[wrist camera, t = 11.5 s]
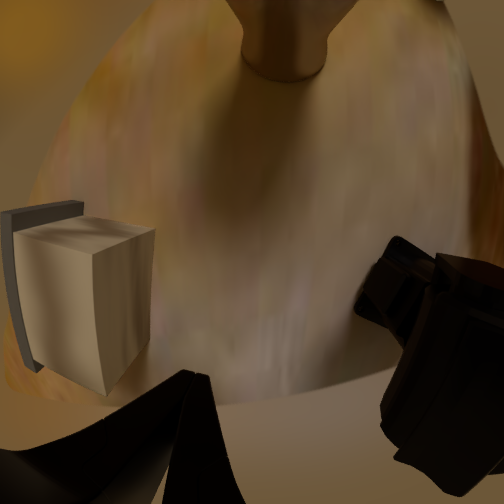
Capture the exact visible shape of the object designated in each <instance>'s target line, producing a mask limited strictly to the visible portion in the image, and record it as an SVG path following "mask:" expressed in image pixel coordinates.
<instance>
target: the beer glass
mask: <svg viewBox="0 0 504 504" xmlns="http://www.w3.org/2000/svg"><path fill="white" fill-rule="evenodd" d="M357 1H358V0H226V2H227V3H228V5H229V6H230V8H231V9H232V11H233V12H234V14H235V15H236V17H237V19H238V20H239V22H240V24H241V25H242V28H243V39H242V45H241V50H242V55H243V58H244V60H245V62H246V63H247V65H248V66H249V67H250V68H251V69H252V70H253V71H254V72H256V73H257V74H259V75H260V76H262V77H264V78H267V79H270V80H273V81H278V82H297V81H301V80H305V79H307V78H309V77H311V76H313V75H314V74H316V73H317V72H318V71H319V70H320V69H321V68H322V66H323V65H324V63H325V61H326V58H327V48H328V47H327V39H328V36H329V34H330V33H331V32H332V30H333V29H334V28H335V27H336V26H337V25H338V24H339V22H340V21H341V20H342V19H343V18H344V17H345V16H346V15H347V13H348V12H349V11H350V10H351V9H352V8H353V7H354V5H355V4H356V3H357Z"/></svg>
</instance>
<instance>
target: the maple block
mask: <svg viewBox="0 0 504 504" xmlns="http://www.w3.org/2000/svg"><path fill="white" fill-rule="evenodd" d="M13 239H14V256H15V268H16V277H17V285H18V292H19V299H20V305H21V310H22V315H23V320H24V325H25V329H26V334H27V338H28V342H29V346H30V349H31V353H32V356H33V359H34V360H35V361H37V362H39V363H40V364H42V365H44V366H46V367H47V368H49V369H51V370H53V371H54V372H56V373H58V374H60V375H62V376H64V377H65V378H67V379H69V380H71V381H73V382H75V383H77V384H79V385H81V386H83V387H85V388H88V389H90V390H92V391H94V392H96V393H99V394H101V395H103V396H105V397H107V396H108V394H109V393H110V392H111V390H112V389H113V387H114V386H115V385H116V383H117V382H118V381H119V379H120V378H121V377H122V375H123V374H124V373H125V371H126V370H127V369H128V367H129V366H130V365H131V363H132V362H133V361H134V359H135V358H136V357H137V355H138V354H139V353H140V351H141V350H142V349H143V347H144V346H145V345H146V343H147V342H148V341H149V340H150V305H151V280H152V264H153V250H154V239H155V228H150V227H144V226H139V225H133V224H128V223H123V222H117V221H112V220H106V219H100V218H95V217H89V216H84V215H83V216H78V217H74V218H69V219H65V220H60V221H56V222H52V223H48V224H44V225H40V226H36V227H32V228H28V229H24V230H21V231H17V232H13Z"/></svg>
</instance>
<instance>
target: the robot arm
mask: <svg viewBox="0 0 504 504" xmlns="http://www.w3.org/2000/svg"><path fill="white" fill-rule="evenodd" d="M397 240H399V245H398V246H396V241H397ZM363 289H364V291H363V292H362V294H361V296H360V297H359V299H358V301H357V302H356V304H355V306H354V311H355V313H356V314H357V315H359V316H361V317H363V318H365V319H367V320H370V321H372V322H374V323H376V324H379V325H381V326H383V327H385V328H388V329H389V330H390V332H391V333H392V334H393V336H394V337H395V339H396V340H397V341H398V343H399V344H400V346H401V347H402V348H403V350H404V351H403V353H402V356H401V358H400V361H399V363H398V365H397V368H396V370H395V372H394V374H393V377H392V379H391V381H390V383H389V385H388V388H387V389H386V391H385V393H384V395H383V398H382V401H381V404H380V411H381V419H382V422H381V423H380V427H381V428H382V430H383V432H384V434H385V435H386V437H387V438H388V439H389V440H390V441H391V442H392V443H393V444H394V445H395V446H396V447H397V448H399V450H398V451H397V452H396V454H395V455H394V456H393V458H394V460H396V461H399V462H401V463H405V464H407V465H411V466H413V467H414V468H416V469H418V470H419V471H421V472H423V473H424V474H425V475H426V476H428V477H429V478H430V479H431V480H432V481H433V482H434V483H435V484H436V485H437V486H438V487H439V488H440V489H441V490H442V491H443V492H444V493H447V494H450V495H453V496H457V497H462V496H464V495H466V494H467V493H468V492H469V491H470V490H471V489H472V488H474V487H475V486H476V485H477V484H478V483H479V482H480V481H481V480H482V479H483V478H484V477H486V476H487V475H494V474H503V473H504V268H501V267H499V266H496V265H494V264H491V263H488V262H485V261H480V260H475V259H469V258H464V257H459V256H453V255H448V254H443V253H436V257H435V259H434V258H432V257H431V256H429V255H428V254H427V253H425V252H424V251H422V250H421V249H419V248H417V247H416V246H414V245H413V244H411V243H410V242H408V241H407V240H405V239H403V238H402V237H400V236H394V237H393V238H392V239H391V241H390V243H389V245H388V247H387V249H386V251H385V253H384V255H383V257H381V258H379V260H378V261H377V263H376V265H375V267H374V269H373V271H372V272H371V274H370V276H369V278H368V279H367V281H366V283H365V285H364V286H363ZM360 307H363V309H362V310H358V309H359V308H360ZM227 456H228V455H227V452H226V447H225V443H224V439H223V436H222V431H221V427H220V423H219V419H218V414H217V411H216V406H215V401H214V397H213V392H212V387H211V382H210V378H209V376H208V375H206V374H201V373H196V374H195V372H193V371H189V370H185V369H182V370H180V371H179V372H177V373H176V374H174V375H173V376H171V377H170V378H168V379H167V380H165V381H164V382H162V383H160V384H159V385H157V386H156V387H154V388H153V389H151V390H149V391H148V392H146V393H145V394H143V395H141V396H140V397H138V398H137V399H135V400H133V401H132V402H130V403H128V404H127V405H125V406H123V407H122V408H120V409H118V410H117V411H115V412H113V413H112V414H110V415H108V416H106V417H105V418H104V419H101V420H99V421H97V422H96V423H94V424H92V425H90V426H88V427H86V428H85V429H82V430H81V431H78V432H76V433H73V434H71V435H69V436H66V437H64V438H61V439H58V440H55V441H53V442H50V443H47V444H44V445H41V446H38V447H35V448H31V449H28V450H21V451H10V450H5V449H0V504H151V502H152V500H153V498H154V496H155V494H156V492H157V489H158V487H159V485H160V483H161V481H162V479H163V476H164V474H165V472H166V470H167V467H168V465H169V468H168V474H167V479H166V484H165V489H164V495H163V500H162V504H246V503H245V501H244V499H243V497H242V495H241V493H240V490H239V488H238V486H237V483H236V481H235V478H234V475H233V472H232V469H231V465H230V462H229V458H228V457H227Z"/></svg>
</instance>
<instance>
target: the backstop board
mask: <svg viewBox="0 0 504 504" xmlns="http://www.w3.org/2000/svg"><path fill="white" fill-rule="evenodd" d="M83 205H84V202H81V201H74V200H69V201H62V202H55V203H48V204H42V205H36V206H30V207H24V208H19V209H13V210H9V211H3V212H1V245H2V259H3V269H4V277H5V284H6V291H7V297H8V303H9V308H10V313H11V317H12V322H13V326H14V330H15V334H16V338H17V342H18V345H19V349H20V352H21V355H22V359H23V362H24V365H25V366H26V367H27V368H29V369H30V370H32V371H33V372H35V373H38V372H39V371H40V370H41V369H42V368H43V367H44V365H42V364H40V363H39V362H37V361H35V360H34V359H33V356H32V353H31V349H30V346H29V342H28V338H27V334H26V329H25V325H24V320H23V315H22V310H21V305H20V299H19V292H18V285H17V277H16V268H15V256H14V239H13V232H17V231H21V230H24V229H28V228H32V227H36V226H40V225H44V224H48V223H52V222H56V221H60V220H65V219H69V218H74V217H78V216H83Z"/></svg>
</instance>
